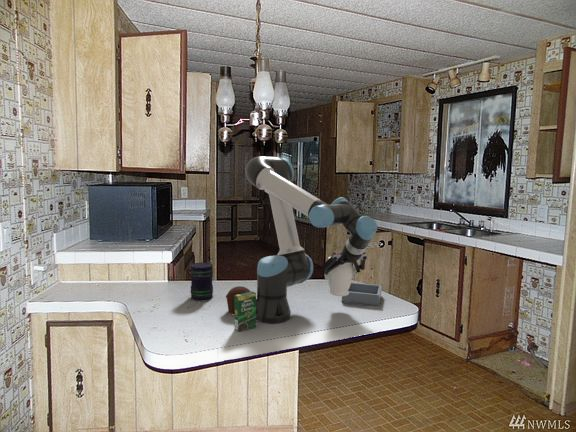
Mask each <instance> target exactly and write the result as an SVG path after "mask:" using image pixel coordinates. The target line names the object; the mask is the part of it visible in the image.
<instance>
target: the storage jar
mask: <svg viewBox="0 0 576 432" xmlns="http://www.w3.org/2000/svg"><path fill="white" fill-rule="evenodd" d="M213 277H214V265H213V263H211V262H203V261H202V262H194V263H191V264H190V279H191V283H190V284H191V286H190V299H191V300H192V301H196V302H205V301H209V300H212V299H213V298H214V296H213V294H214V285H213Z"/></svg>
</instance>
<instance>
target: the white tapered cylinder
mask: <svg viewBox="0 0 576 432" xmlns="http://www.w3.org/2000/svg"><path fill="white" fill-rule="evenodd" d="M330 257H331V256H328V259H329V258H330ZM328 259H327V260H328ZM352 267H353V262H352V263H344V264H343V265H339V266H338V267H336V268H334V269H333V270H331V274H330V276H329V278H328V279H327V282H328V286H329V290H328V293H329V294H330V295H332V296H334V297H335V296H337V297H342V296H346V295H348V294H349V291H348V289H349V287H350V285H351V283H352V280H353V278H352V274H353V268H352Z"/></svg>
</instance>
